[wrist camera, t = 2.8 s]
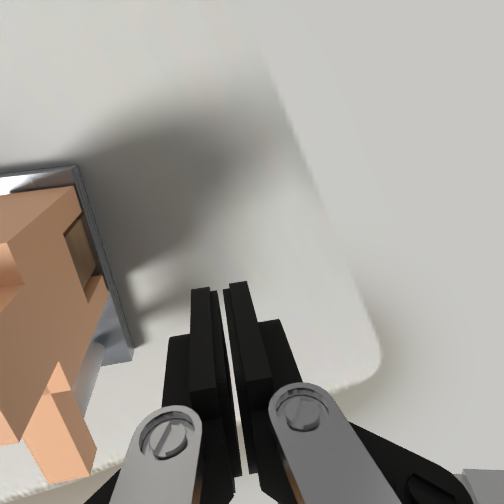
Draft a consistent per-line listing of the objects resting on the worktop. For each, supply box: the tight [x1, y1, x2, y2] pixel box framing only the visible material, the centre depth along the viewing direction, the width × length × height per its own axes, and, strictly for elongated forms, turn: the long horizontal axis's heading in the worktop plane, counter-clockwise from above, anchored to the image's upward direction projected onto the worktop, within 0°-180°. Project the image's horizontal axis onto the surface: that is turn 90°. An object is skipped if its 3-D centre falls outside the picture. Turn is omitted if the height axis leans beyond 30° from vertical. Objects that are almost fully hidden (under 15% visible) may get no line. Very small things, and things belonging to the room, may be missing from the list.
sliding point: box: [0, 186, 109, 484], centre depth 13 cm, size 10×3×9 cm, turn 5°
